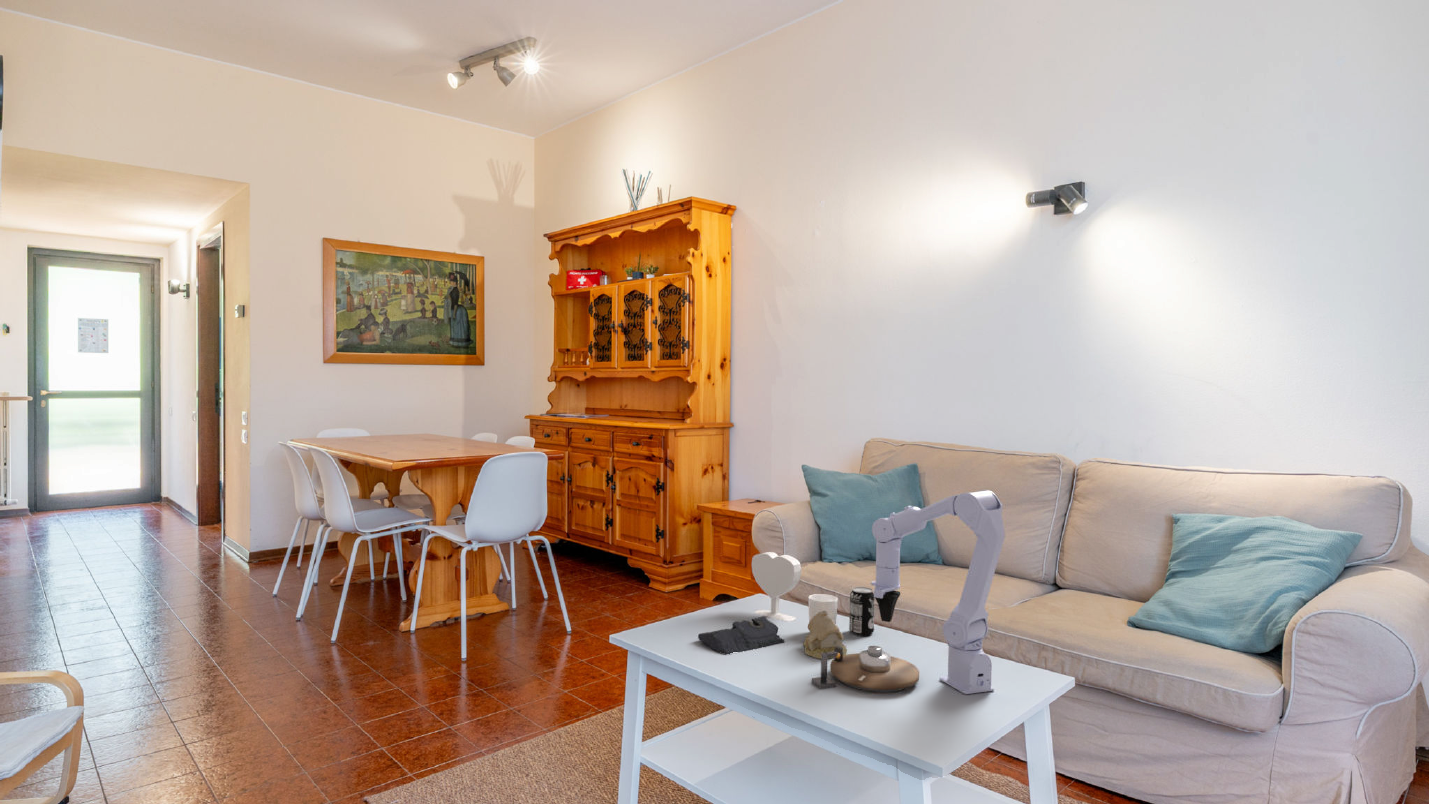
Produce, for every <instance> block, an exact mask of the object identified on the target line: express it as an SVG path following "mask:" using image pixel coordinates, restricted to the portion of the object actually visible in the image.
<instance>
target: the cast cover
mask: <svg viewBox="0 0 1429 804" xmlns="http://www.w3.org/2000/svg"><path fill="white" fill-rule="evenodd" d="M859 653H860V659H859V667H860V669H862V670H863V671H866V672H870V673H886V672H889V671H890V664H891V656H892V655H891V654H890V653H888V652H886V651H883V647H881V646H879V645H870V646H868V648H867V649H865V650H863V651H860V652H859Z"/></svg>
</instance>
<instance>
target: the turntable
mask: <svg viewBox="0 0 1429 804" xmlns="http://www.w3.org/2000/svg"><path fill="white" fill-rule="evenodd" d="M834 652H837V653H839V654H840V658H836V657H834V658H833V660H831V662H830V665H829V667H830V673H831V674H832V676H833V677H834V678H836V679H838V680H839V681H841V682H842V681H843V682H842V683H844V682H845V683H848V684H851V685H854V686H858V687H863V688H870V689H882V690H890V689H901V688H905V689H906V688H910V687H912V686H914V685H916V684H917V683H918V682H919V680H920V670H919V668H918V667H917V666H916V665H915V664H913V663H911V662H909V661H908V660H906V659H902V658H899V657H896V656H892V655H890V656H891V664H890V671H889V672H886V673H870V672H866V671H863V670H862V669H860V667H859V659H860V652H858V653H849V654H848V653H847V654H846V655H843V647H840V646H836V647H834ZM845 683H844V684H845Z"/></svg>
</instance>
